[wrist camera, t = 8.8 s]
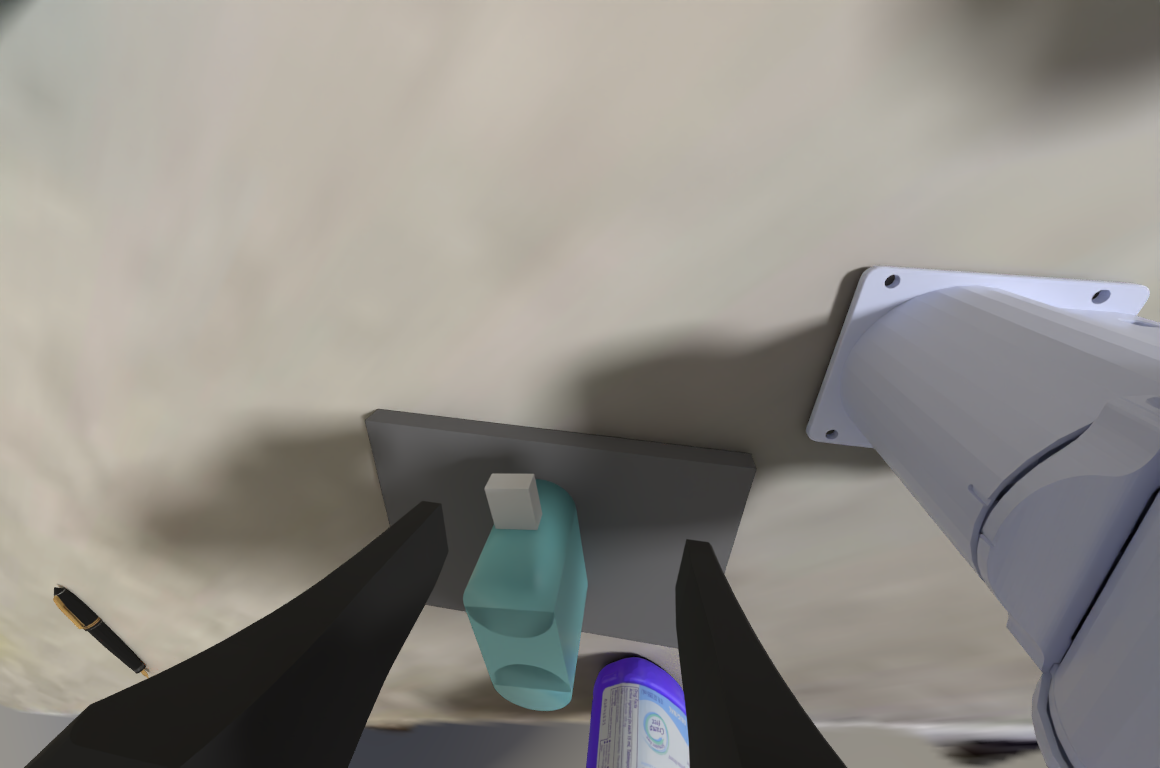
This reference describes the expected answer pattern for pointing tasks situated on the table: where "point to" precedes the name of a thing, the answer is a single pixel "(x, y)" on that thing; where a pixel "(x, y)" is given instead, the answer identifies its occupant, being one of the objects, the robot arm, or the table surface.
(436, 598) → the rubber mat
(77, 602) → the fountain pen
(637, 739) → the bottle
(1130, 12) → the table surface
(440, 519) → the robot arm
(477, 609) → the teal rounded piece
